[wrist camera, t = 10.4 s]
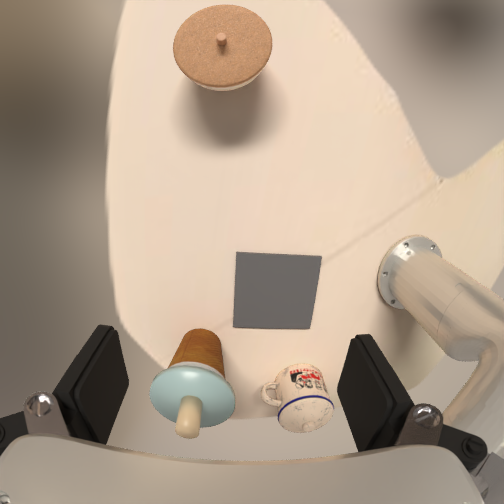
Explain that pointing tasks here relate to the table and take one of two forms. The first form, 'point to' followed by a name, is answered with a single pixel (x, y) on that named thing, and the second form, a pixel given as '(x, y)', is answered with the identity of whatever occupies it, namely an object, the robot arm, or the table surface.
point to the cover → (192, 398)
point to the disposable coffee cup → (200, 351)
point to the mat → (275, 290)
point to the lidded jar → (222, 47)
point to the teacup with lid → (300, 398)
